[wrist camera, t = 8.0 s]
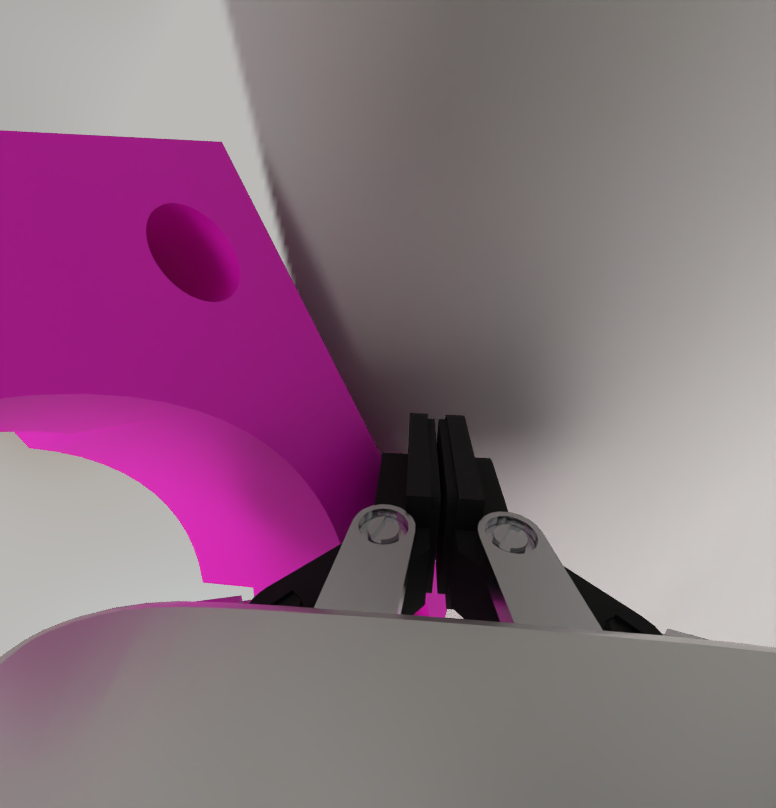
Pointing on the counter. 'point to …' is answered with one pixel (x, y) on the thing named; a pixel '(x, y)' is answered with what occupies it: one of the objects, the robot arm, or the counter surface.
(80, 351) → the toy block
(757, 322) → the counter surface
